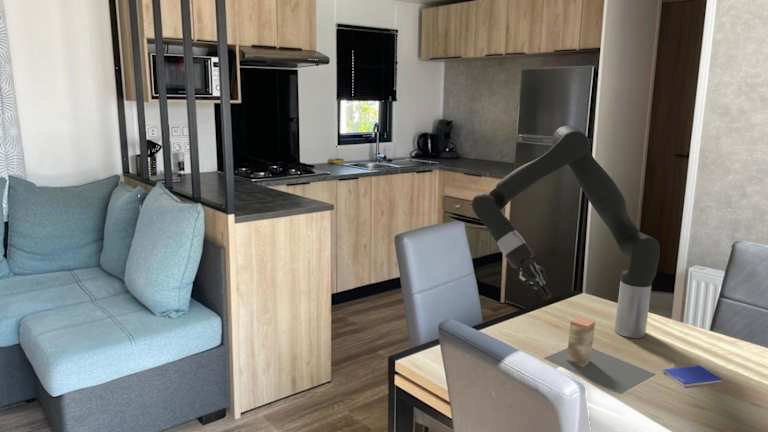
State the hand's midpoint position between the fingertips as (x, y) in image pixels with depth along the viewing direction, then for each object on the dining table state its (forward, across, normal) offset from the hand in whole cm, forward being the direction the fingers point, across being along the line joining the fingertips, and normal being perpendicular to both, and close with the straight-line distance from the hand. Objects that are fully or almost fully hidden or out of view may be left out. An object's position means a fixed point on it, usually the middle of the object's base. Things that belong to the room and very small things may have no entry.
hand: (548, 297), depth 166 cm
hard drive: (+38, +15, -14) cm, 43 cm away
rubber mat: (+24, +1, 0) cm, 24 cm away
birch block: (+19, 0, +4) cm, 20 cm away
